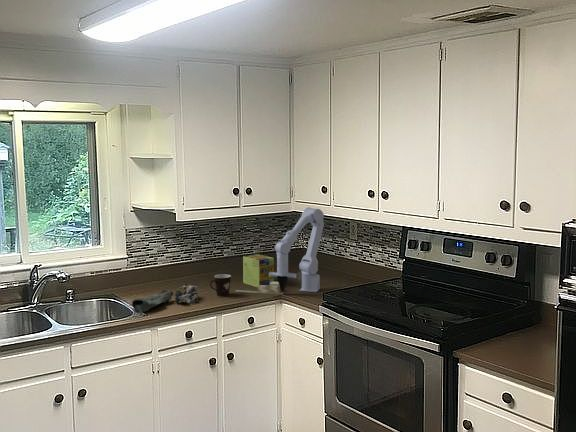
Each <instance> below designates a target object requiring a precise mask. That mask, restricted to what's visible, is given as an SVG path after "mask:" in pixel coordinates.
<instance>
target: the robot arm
mask: <svg viewBox="0 0 576 432" xmlns="http://www.w3.org/2000/svg"><path fill="white" fill-rule="evenodd" d="M324 217H325V213H324V212H323V211H322V210H321V209H320V208H313V207H306V208H305V209H304V210H303V211H302V213H301V216H300V217H299V219H298V220H297V222H296V223H295V225H294V227H293V228H292V229H291V230H288V231H286V232H285V235H284V236H283V238H281V239H280V241H279V242H276V244H275V247H274V251H275V252H276V271H274V272H269V277H271V276H273V277H274V278H276V280H277V281H276V282H278V283H279V285H280V288H281V292H284V291H285V289H286V284H287V282H288V280H289V278H290V279H291V278H293V279H296V278H297V273H295V272H294V273H293V272H289V253H290V252H291V247H292V245H293V244H294V243H295V241H296V240H297V239H298V234H299V232H301V231H302V229H303V228H304V227H305V226H306V225H307V224H309V223H310V224H311V226H312V228H311V229H312V230H311V233H310V236H309V237H310V238H309V241H308V245H307V250H306V254H304V256H303V257H302V258H301V261H300V262H299V265H298V268H299V271H301V288H300V289H299V292H308V293H309V292H311V293H318V291H320V287H321V286H320V282H321V281H320V280H321V276H320V274H317V272H318V269H319V266H318V265H319V261H318V259H317V254H318V251H319V246H320V243H321V242H320V241H321V238H322V234H323V229H324V226H325V225H324V223H325V222H324Z"/></svg>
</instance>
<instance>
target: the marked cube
mask: <svg viewBox="0 0 576 432" xmlns="http://www.w3.org/2000/svg"><path fill="white" fill-rule="evenodd" d="M270 286H279V283H278V281H274V282H271V283H270Z"/></svg>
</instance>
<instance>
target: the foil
mask: <svg viewBox="0 0 576 432" xmlns="http://www.w3.org/2000/svg"><path fill="white" fill-rule="evenodd" d="M178 286H180V287H179V288H176V290H175V296H174V299H175V304H179V303H180V302H184V301H185V302H186V304H187V305H193V304H195V303H198V302H199V298H200V297H198V295H199V292H198V287H199V286H197V285H196V284H189V285H188V284H187V283H184V284H183V286H182V285H181V284H180V285H178ZM181 288H184V292H182V291H181V290H180V289H181Z"/></svg>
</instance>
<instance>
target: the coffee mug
mask: <svg viewBox="0 0 576 432" xmlns="http://www.w3.org/2000/svg"><path fill="white" fill-rule="evenodd" d="M231 280H232V275H231V274H225V273H224V274H223V273H222V274H215V275H214V279H212V280H211V281H210V283H209V286H210V288H212V289H213V290H214V291H216V292H215V294H216V296H217V297H228V296H230V291H231V290H230V289H231ZM213 282H214V284H215V285H214V286H215V287H213V285H212V284H213Z"/></svg>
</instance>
